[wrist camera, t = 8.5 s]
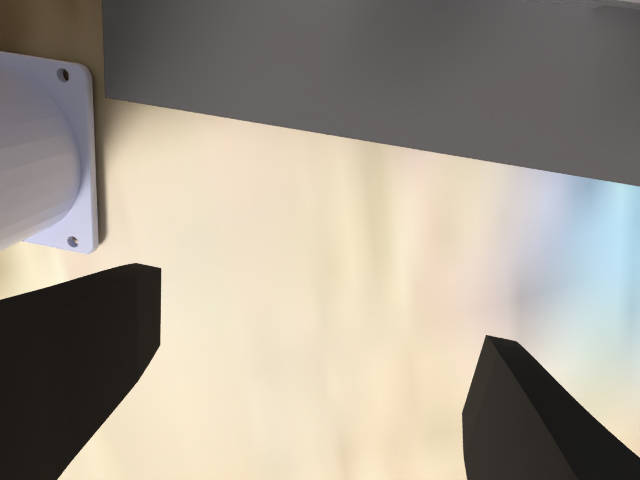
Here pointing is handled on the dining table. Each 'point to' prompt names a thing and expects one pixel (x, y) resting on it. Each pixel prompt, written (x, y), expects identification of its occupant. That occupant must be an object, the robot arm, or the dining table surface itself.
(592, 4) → the grey metal plate
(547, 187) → the dining table surface
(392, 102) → the dark grey backing panel
